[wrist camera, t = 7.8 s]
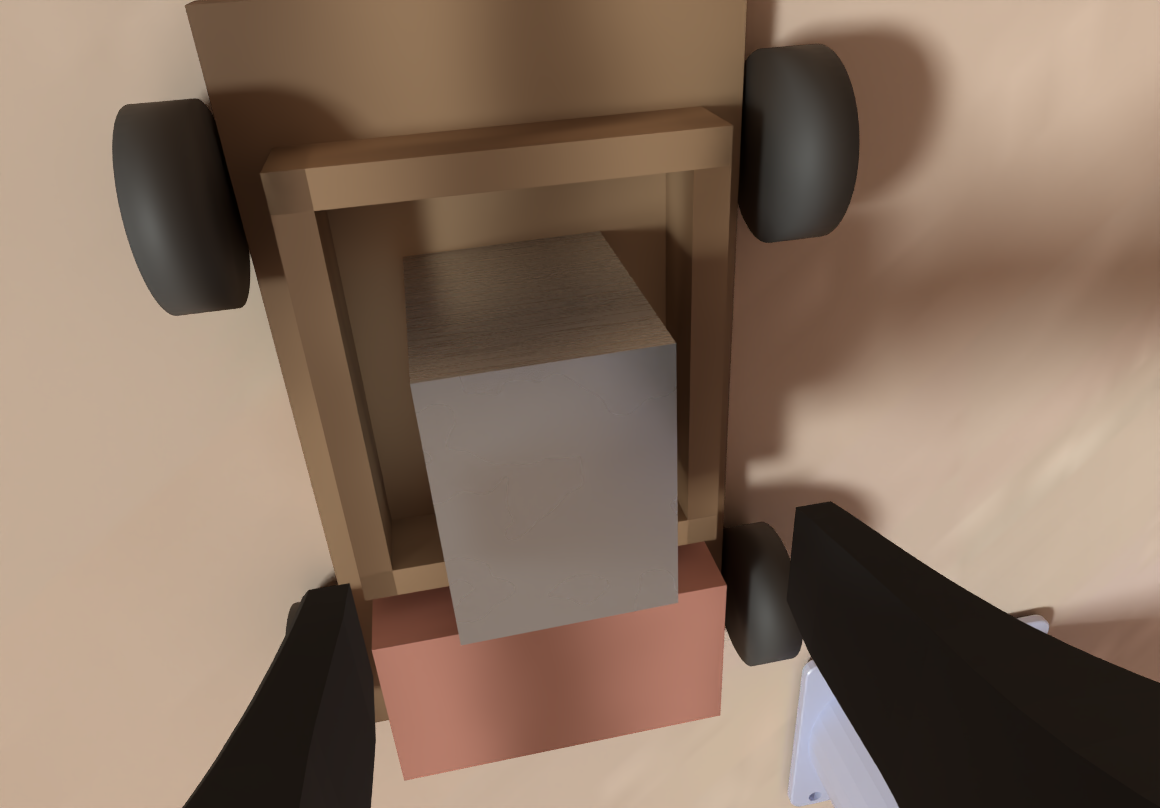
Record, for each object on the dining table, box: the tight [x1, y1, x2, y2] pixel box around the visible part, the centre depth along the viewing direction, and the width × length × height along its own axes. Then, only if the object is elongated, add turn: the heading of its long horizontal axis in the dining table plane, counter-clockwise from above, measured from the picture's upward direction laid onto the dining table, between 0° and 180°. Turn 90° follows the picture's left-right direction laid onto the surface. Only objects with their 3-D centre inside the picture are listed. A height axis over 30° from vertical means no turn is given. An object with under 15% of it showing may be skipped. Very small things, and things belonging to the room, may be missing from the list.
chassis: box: [112, 0, 859, 781], centre depth 21 cm, size 14×20×4 cm
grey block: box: [403, 231, 678, 645], centre depth 18 cm, size 4×6×6 cm
